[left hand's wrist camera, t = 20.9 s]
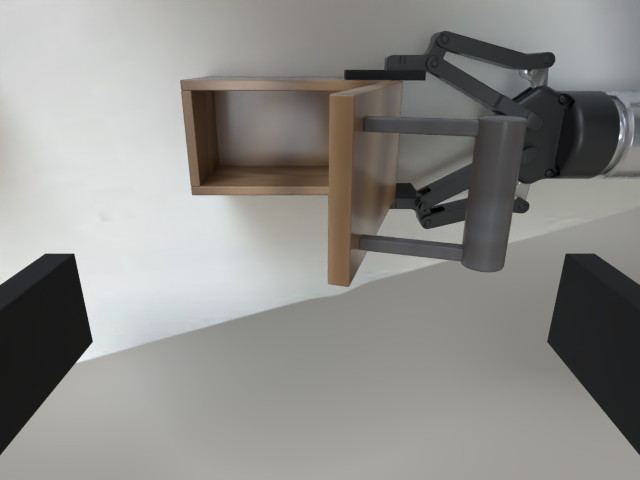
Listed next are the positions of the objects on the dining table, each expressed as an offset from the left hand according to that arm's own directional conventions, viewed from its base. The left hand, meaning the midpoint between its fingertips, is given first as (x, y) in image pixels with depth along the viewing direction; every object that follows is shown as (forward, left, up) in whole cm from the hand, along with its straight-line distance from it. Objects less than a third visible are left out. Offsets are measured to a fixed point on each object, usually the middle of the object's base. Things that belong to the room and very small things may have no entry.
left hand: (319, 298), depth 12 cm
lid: (+3, 0, -18) cm, 19 cm away
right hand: (+2, 0, -30) cm, 30 cm away
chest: (-3, 0, -36) cm, 36 cm away
